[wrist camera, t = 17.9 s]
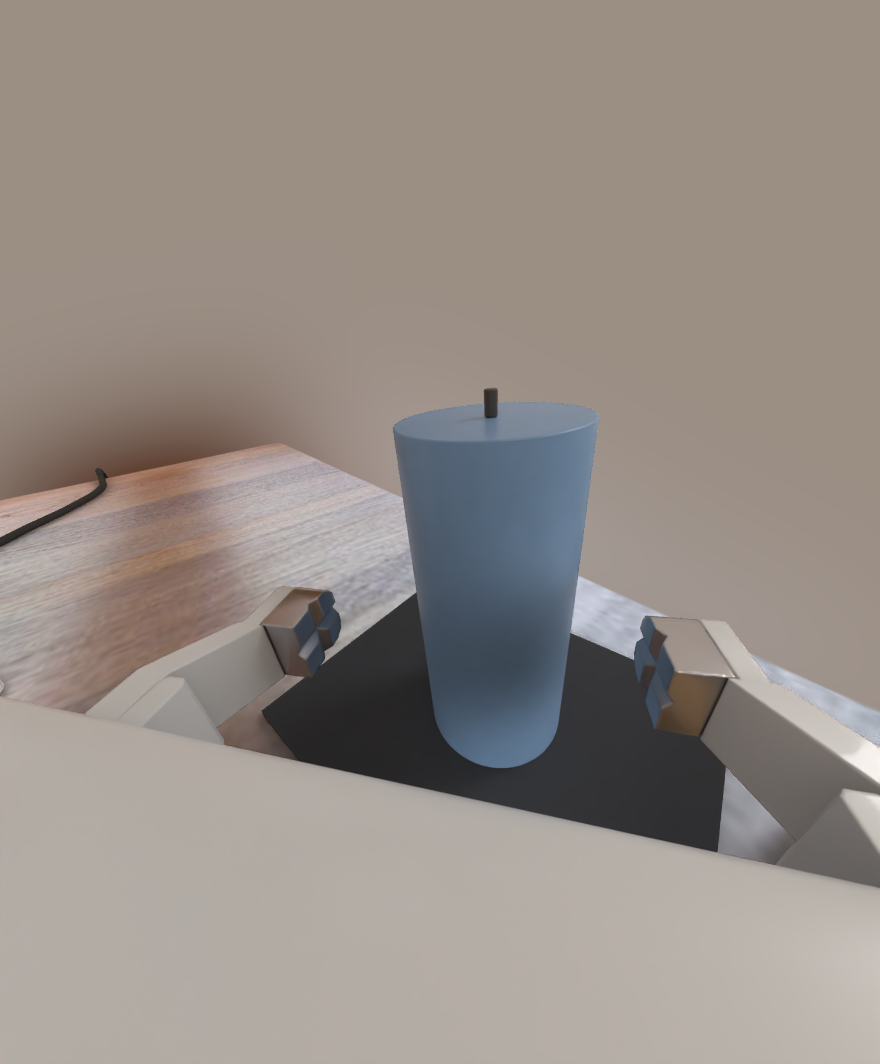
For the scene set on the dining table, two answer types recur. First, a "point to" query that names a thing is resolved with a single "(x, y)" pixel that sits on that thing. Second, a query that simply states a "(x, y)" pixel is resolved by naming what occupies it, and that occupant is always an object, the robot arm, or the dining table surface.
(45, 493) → the dining table surface
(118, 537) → the dining table surface
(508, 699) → the candle
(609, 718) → the placemat
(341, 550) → the dining table surface
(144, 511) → the dining table surface
